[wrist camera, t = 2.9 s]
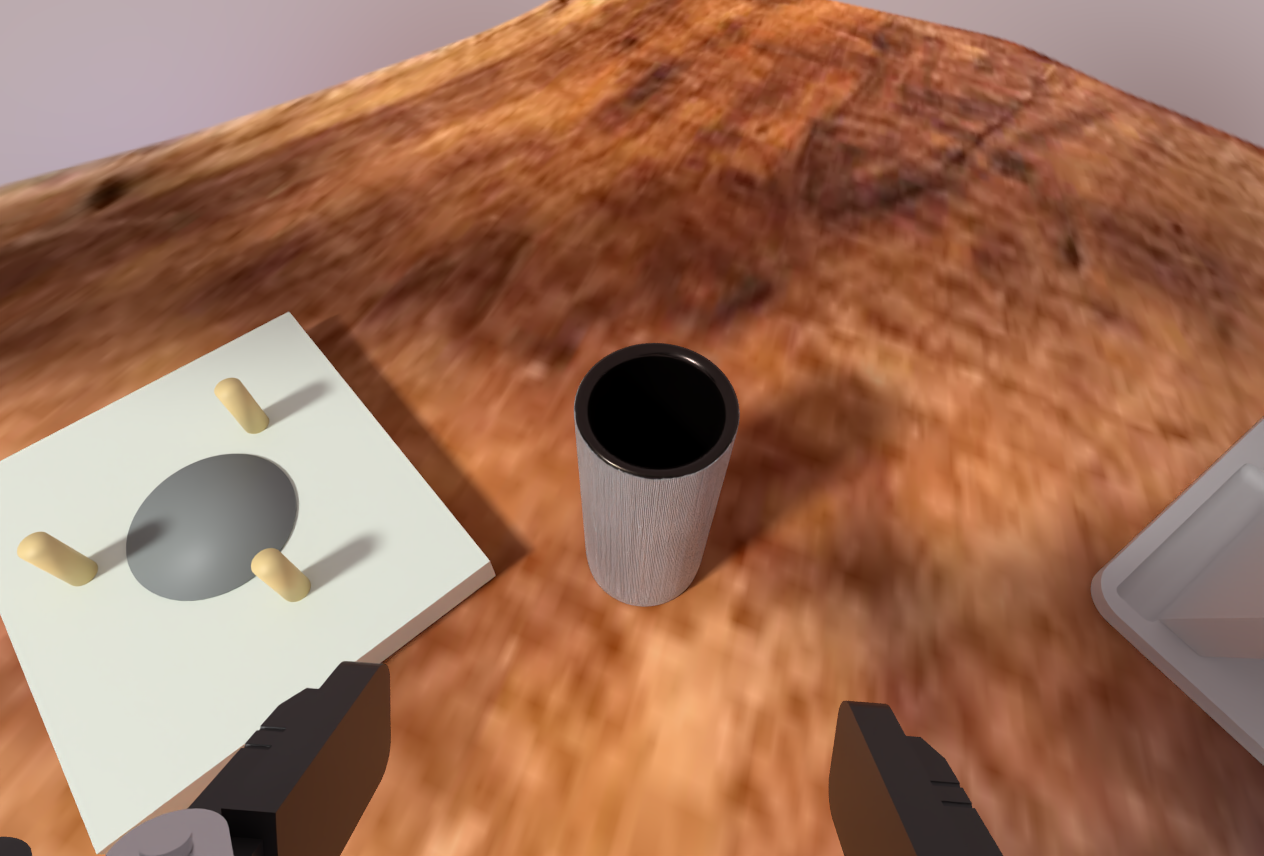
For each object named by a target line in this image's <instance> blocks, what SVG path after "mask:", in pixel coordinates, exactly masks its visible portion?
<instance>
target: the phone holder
mask: <svg viewBox="0 0 1264 856" xmlns="http://www.w3.org/2000/svg"><path fill="white" fill-rule="evenodd" d="M1091 596H1092V599H1093V602H1094V604H1095V606H1096V608H1097V610H1098V611H1099V613H1100V614H1101V615H1102V617H1103V618H1104V619H1105V620H1106V621H1107V622H1108V623H1109V624H1110V625H1112V626H1113V627H1114V628H1115V629H1116V630H1117V631H1118V632H1119V633H1120V634H1121V635H1122V636H1123V637H1125V638H1126V639H1127V640H1128V641H1129V642H1130V643H1131V644H1132V645H1133V646H1134V647H1135V648H1136V649H1138V650H1139V651H1140V652H1141V653H1142V654H1143V655H1144V656H1145V657H1146V658H1147V659H1148V660H1150V661H1151V662H1152V663H1153V664H1154V665H1155V666H1156V667H1157V668H1158V669H1159V670H1160V671H1161V672H1163V673H1164V674H1165V675H1166V676H1167V677H1168V678H1169V679H1170V680H1171V681H1172V682H1173V683H1174V684H1176V685H1177V686H1178V687H1179V688H1180V689H1181V690H1182V691H1183V692H1184V693H1185V694H1186V695H1187V696H1189V697H1190V698H1191V699H1192V700H1193V701H1194V702H1195V703H1196V704H1197V705H1198V706H1199V707H1201V708H1202V709H1203V710H1204V711H1205V712H1206V713H1207V714H1208V715H1209V716H1210V717H1211V718H1212V719H1214V720H1215V721H1216V722H1217V723H1218V724H1219V725H1220V726H1221V727H1222V728H1223V729H1224V730H1225V731H1227V732H1228V733H1229V734H1230V735H1231V736H1232V737H1233V738H1234V739H1235V740H1236V741H1237V742H1239V743H1240V744H1241V745H1242V746H1243V747H1244V748H1245V749H1246V750H1247V751H1248V752H1249V753H1250V754H1252V755H1253V756H1254V757H1255V758H1256V759H1257V760H1258V761H1259V762H1260V763H1261V764H1262V765H1263V766H1264V416H1263V417H1262V418H1261V419H1260V420H1259V421H1258V422H1257V423H1256V424H1255V425H1254V426H1253V427H1252V428H1251V429H1249V430H1248V431H1247V432H1246V433H1245V434H1244V435H1243V436H1242V437H1241V438H1240V439H1239V440H1238V441H1237V442H1236V443H1235V444H1233V445H1232V446H1231V447H1230V448H1229V449H1228V450H1227V451H1226V452H1225V453H1224V454H1223V455H1222V456H1221V457H1220V458H1219V459H1218V460H1216V461H1215V462H1214V463H1213V464H1212V465H1211V466H1210V467H1209V468H1208V469H1207V470H1206V471H1205V472H1204V473H1203V474H1202V475H1200V476H1199V477H1198V478H1197V479H1196V480H1195V481H1194V482H1193V483H1192V484H1191V485H1190V486H1189V487H1188V488H1187V489H1186V490H1185V491H1183V492H1182V493H1181V494H1180V495H1179V496H1178V497H1177V498H1176V499H1175V500H1174V501H1173V502H1172V503H1171V504H1170V505H1169V506H1167V507H1166V508H1165V509H1164V510H1163V511H1162V512H1161V513H1160V514H1159V515H1158V516H1157V517H1156V518H1155V519H1154V520H1153V521H1152V522H1150V523H1149V524H1148V525H1147V526H1146V527H1145V528H1144V529H1143V530H1142V531H1141V532H1140V533H1139V534H1138V535H1137V536H1136V537H1134V538H1133V539H1132V540H1131V541H1130V542H1129V543H1128V544H1127V545H1126V546H1125V547H1124V548H1123V549H1122V550H1121V551H1120V552H1118V553H1117V554H1116V555H1115V556H1114V557H1113V558H1112V559H1111V560H1110V561H1109V562H1108V563H1107V564H1106V565H1105V566H1104V567H1103V568H1101V569H1100V570H1099V571H1098V572H1097V573H1096V574H1095V576H1094V577H1093V579H1092V582H1091Z"/></svg>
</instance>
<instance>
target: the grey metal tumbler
mask: <svg viewBox="0 0 1264 856" xmlns="http://www.w3.org/2000/svg"><path fill="white" fill-rule="evenodd" d="M739 416H740V412H739V404H738V399H737V396H736V393H735V391H734V389H733V386H732V385H731V383H730V381H729V380H728V378H727V377H726V376H725V374H724V373H723V372H722V371H721V370H720V369H719V368H718V367H717V366H716V365H715V364H714V363H712V362H711V361H710V360H708V359H707V358H705V357H704V356H702V355H700V354H698V353H696V352H694V351H692V350H689V349H686V348H684V347H680V346H676V345H671V344H664V343H645V344H637V345H632V346H629V347H625V348H622V349H620V350H617V351H615V352H613V353H611V354H609V355H607V356H606V357H604V358H603V359H601V360H600V361H599V362H598V363H596V364H595V365H594V366H593V367H592V368H591V369H590V370H589V372H588V373H587V374H586V375H585V377H584V378H583V380H582V382H581V384H580V386H579V388H578V391H577V393H576V397H575V403H574V420H575V432H576V443H577V454H578V466H579V477H580V488H581V500H582V511H583V522H584V533H585V545H586V555H587V560H588V564H589V567H590V570H591V573H592V575H593V577H594V579H595V580H596V582H597V583H598V584H599V585H600V587H601V588H602V589H603V590H604V591H605V592H606V593H608V594H609V595H610V596H612V597H613V598H615V599H617V600H619V601H621V602H623V603H626V604H630V605H635V606H655V605H660V604H663V603H666V602H668V601H670V600H672V599H674V598H676V597H677V596H679V595H680V594H681V593H682V592H684V591H685V590H686V589H687V588H688V586H689V585H690V584H691V582H692V581H693V579H694V577H695V575H696V573H697V571H698V569H699V566H700V563H701V560H702V556H703V552H704V549H705V545H706V542H707V538H708V535H709V531H710V527H711V524H712V520H713V517H714V513H715V510H716V506H717V502H718V499H719V495H720V492H721V488H722V484H723V481H724V477H725V474H726V470H727V467H728V463H729V459H730V456H731V452H732V449H733V445H734V441H735V438H736V434H737V430H738V425H739Z"/></svg>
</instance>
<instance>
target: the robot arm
mask: <svg viewBox="0 0 1264 856" xmlns="http://www.w3.org/2000/svg"><path fill="white" fill-rule="evenodd" d="M390 743H391V727H390V673H389V668H388V666H387V665H386V664H379V663H366V662H353V661H343V662H341V663H340V664H339V665H338V666H337V667H336V669H335V670H334V671H333V672H332V673H331V675H330V676H329V677H328V678H327V680H326V681H325V682H324V683H323V684H322V686H321V687H320V688H319V689H315V688H306V689H304V690H302V691H301V692H299V693H297V694H296V695H294V696H293V697H291V698H289V699H288V700H286V701H284V702H283V703H281V704H280V705H278V707H277V708H276V709H275V710H274V711H273V712H272V713H271V714H270V716H269V717H268V718H267V719H266V720H265V721H264V722H263V724H262V725H261V726H260V730H256V731H255V733H254V734H253V735H252V736H251V737H250V738H249V739H248V740H247V742H246V743H245V746H244V748H240V750H239V751H238V752H237V753H236V754H235V755H234V756H233V757H232V759H231V760H230V761H229V762H228V763H227V764H226V765H225V767H224V768H223V769H222V770H221V771H220V772H219V773H218V774H217V776H216V777H215V778H214V779H213V780H212V781H211V782H210V784H209V785H208V786H207V787H206V788H205V789H204V790H203V791H202V793H201V794H200V795H199V796H198V797H197V798H196V799H195V801H194V802H193V803H192V804H191V805H190V806H189V807H188V808H187V809H183V810H177V811H173V812H169V813H166V814H163V815H160V816H157V817H155V818H153V819H150V820H148V821H146V822H144V823H142V824H141V825H139V826H137V827H135V828H134V829H132V830H131V831H130V832H128V833H127V834H125V835H124V836H123V837H122V838H121V839H119V840H118V841H117V842H116V843H115V844H114V845H113V846H112V848H111V849H110V850H109V851H108V853H107V854H106V856H340V855H341V853H342V851H343V849H344V847H345V846H346V844H347V842H348V840H349V838H350V836H351V835H352V833H353V831H354V829H355V827H356V826H357V824H358V822H359V820H360V818H361V816H362V815H363V813H364V811H365V809H366V807H367V805H368V804H369V802H370V800H371V798H372V796H373V794H374V793H375V791H376V789H377V787H378V785H379V783H380V782H381V780H382V777H383V775H384V772H385V769H386V766H387V762H388V758H389V752H390ZM829 803H830V810H831V815H832V819H833V822H834V825H835V828H836V831H837V834H838V837H839V840H840V844H841V847H842V850H843V853H844V856H1003V855H1002V853H1001V851H1000V850H999V848H998V846H997V845H996V843H995V841H994V840H993V838H992V836H991V835H990V833H989V831H988V830H987V828H986V826H985V825H984V823H983V821H982V820H981V818H980V816H979V815H978V813H977V811H976V810H975V808H972V803H971V801H970V799H969V798H968V796H967V794H966V793H965V791H964V789H963V788H960V783H959V781H958V779H957V778H956V776H955V774H954V773H953V771H952V769H951V768H950V766H949V764H948V763H947V761H946V759H945V758H944V757H943V756H941V755H940V754H939V753H938V752H937V751H936V750H935V749H933V748H932V747H931V746H930V745H929V744H928V743H927V742H925V741H924V740H923V739H922V738H921V737H912V736H905V734H904V732H903V730H902V728H901V726H900V724H899V723H898V721H897V719H896V717H895V715H894V713H893V712H892V710H891V708H890V707H889V706H888V705H887V704H881V703H868V702H855V701H843V702H842V703H841V705H840V708H839V712H838V719H837V726H836V733H835V740H834V747H833V754H832V761H831V768H830V775H829ZM0 856H32V852H31V848H30V847H29V846H28V844H27V843H25V842H24V841H22V840H20V839H17V838H12V837H0Z"/></svg>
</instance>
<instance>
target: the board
mask: <svg viewBox="0 0 1264 856" xmlns="http://www.w3.org/2000/svg"><path fill="white" fill-rule="evenodd" d="M495 576H496V575H495V572H494V570H493V567H492V565H491V562H490V561H489V559H488V558H487V557H486V556H485V554H484V553H483V552H482V551H481V549H480V548H479V547H478V546H477V544H476V543H475V542H474V541H473V539H472V538H471V537H470V536H469V534H468V533H467V532H466V531H465V529H464V528H463V527H462V526H461V524H460V523H459V522H458V521H457V520H456V518H455V517H454V516H453V515H452V513H451V512H450V511H449V510H448V508H447V507H446V506H445V505H444V503H443V502H442V501H441V500H440V498H439V497H438V496H437V495H436V493H435V492H434V491H433V490H432V488H431V487H430V486H429V485H428V484H427V482H426V481H425V480H424V479H423V477H422V476H421V475H420V474H419V472H418V471H417V470H416V469H415V467H414V466H413V465H412V464H411V462H410V461H409V460H408V459H407V457H406V456H405V455H404V454H403V452H402V451H401V450H400V449H399V448H398V446H397V445H396V444H395V443H394V441H393V440H392V439H391V438H390V436H389V435H388V434H387V433H386V431H385V430H384V429H383V428H382V426H381V425H380V424H379V423H378V421H377V420H376V419H375V418H374V416H373V415H372V414H371V413H370V412H369V410H368V409H367V408H366V407H365V405H364V404H363V403H362V402H361V400H360V399H359V398H358V397H357V395H356V394H355V393H354V392H353V390H352V389H351V388H350V387H349V385H348V384H347V383H346V382H345V380H344V379H343V378H342V377H341V376H340V374H339V373H338V372H337V371H336V369H335V368H334V367H333V366H332V364H331V363H330V362H329V361H328V359H327V358H326V357H325V356H324V354H323V353H322V352H321V351H320V349H319V348H318V347H317V346H316V344H315V343H314V342H313V341H312V339H311V338H310V337H309V336H308V335H307V333H306V332H305V331H304V330H303V328H302V327H301V326H300V325H299V323H298V322H297V321H296V320H295V318H294V317H293V316H292V315H291V313H290V312H287V313H285V314H283V315H281V316H279V317H277V318H275V319H274V320H272V321H270V322H268V323H266V324H264V325H262V326H260V327H258V328H256V329H254V330H252V331H250V332H248V333H247V334H245V335H243V336H241V337H239V338H237V339H235V340H233V341H231V342H229V343H227V344H225V345H223V346H221V347H219V348H218V349H216V350H214V351H212V352H210V353H208V354H206V355H204V356H202V357H200V358H198V359H196V360H194V361H192V362H191V363H189V364H187V365H185V366H183V367H181V368H179V369H177V370H175V371H173V372H171V373H169V374H167V375H165V376H164V377H162V378H160V379H158V380H156V381H154V382H152V383H150V384H148V385H146V386H144V387H142V388H140V389H138V390H137V391H135V392H133V393H131V394H129V395H127V396H125V397H123V398H121V399H119V400H117V401H115V402H113V403H111V404H110V405H108V406H106V407H104V408H102V409H100V410H98V411H96V412H94V413H92V414H90V415H88V416H86V417H84V418H82V419H81V420H79V421H77V422H75V423H73V424H71V425H69V426H67V427H65V428H63V429H61V430H59V431H57V432H55V433H54V434H52V435H50V436H48V437H46V438H44V439H42V440H40V441H38V442H36V443H34V444H32V445H30V446H28V447H27V448H25V449H23V450H21V451H19V452H17V453H15V454H13V455H11V456H9V457H7V458H5V459H3V460H1V461H0V614H1V617H2V619H3V622H4V624H5V627H6V629H7V632H8V634H9V637H10V639H11V642H12V644H13V647H14V649H15V652H16V654H17V657H18V659H19V662H20V664H21V667H22V669H23V672H24V674H25V677H26V679H27V682H28V684H29V687H30V689H31V692H32V694H33V697H34V699H35V702H36V704H37V707H38V709H39V712H40V714H41V717H42V719H43V722H44V724H45V727H46V729H47V732H48V734H49V737H50V739H51V742H52V744H53V747H54V749H55V752H56V754H57V757H58V759H59V762H60V764H61V767H62V769H63V772H64V774H65V777H66V779H67V782H68V784H69V787H70V789H71V792H72V794H73V796H74V799H75V801H76V804H77V806H78V809H79V811H80V814H81V816H82V819H83V821H84V824H85V826H86V829H87V831H88V834H89V836H90V839H91V841H92V844H93V846H94V849H95V851H96V854H107V853H108V851H109V850H110V849H111V848H112V846H113V845H114V844H115V843H116V842H117V841H118V840H119V839H121V838H122V837H123V836H124V835H125V834H127V833H128V832H130V831H131V830H132V829H134V828H135V827H137V826H139V825H141V824H142V823H144V822H146V821H148V820H150V819H153V818H155V817H157V816H160V815H163V814H166V813H169V812H173V811H177V810H183V809H187V808H188V807H189V806H190V805H191V804H192V803H193V802H194V801H195V799H196V798H197V797H198V796H199V795H200V794H201V793H202V791H203V790H204V789H205V788H206V787H207V786H208V785H209V784H210V782H211V781H212V780H213V779H214V778H215V777H216V776H217V774H218V773H219V772H220V771H221V770H222V769H223V768H224V767H225V765H226V764H227V763H228V762H229V761H230V760H231V759H232V757H233V756H234V755H235V754H236V753H237V752H238V751H239V750H240V748H244V746H245V743H246V742H247V740H248V739H249V738H250V737H251V736H252V735H253V734H254V733H255V731H256V730H260V726H261V725H262V724H263V722H264V721H265V720H266V719H267V718H268V717H269V716H270V714H271V713H272V712H273V711H274V710H275V709H276V708H277V707H278V705H280V704H281V703H283V702H284V701H286V700H288V699H289V698H291V697H293V696H294V695H296V694H297V693H299V692H301V691H302V690H304V689H306V688H315V689H319V688H320V687H321V686H322V684H323V683H324V682H325V681H326V680H327V678H328V677H329V676H330V675H331V673H332V672H333V671H334V670H335V669H336V667H337V666H338V665H339V664H340V663H341V662H343V661H353V662H366V663H379V664H380V663H381V662H382V661H384V660H385V659H386V658H388V657H389V656H390V655H392V654H393V653H394V652H396V651H397V650H398V649H400V648H401V647H402V646H404V645H405V644H406V643H408V642H409V641H410V640H412V639H413V638H414V637H415V636H417V635H418V634H419V633H421V632H422V631H423V630H425V629H426V628H427V627H429V626H430V625H431V624H433V623H434V622H435V621H437V620H438V619H439V618H441V617H442V616H443V615H445V614H446V613H447V612H448V611H450V610H451V609H452V608H454V607H455V606H456V605H458V604H459V603H460V602H462V601H463V600H464V599H466V598H467V597H468V596H470V595H471V594H472V593H474V592H475V591H476V590H478V589H479V588H480V587H481V586H483V585H484V584H485V583H487V582H488V581H489V580H491V579H492V578H493V577H495Z"/></svg>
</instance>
